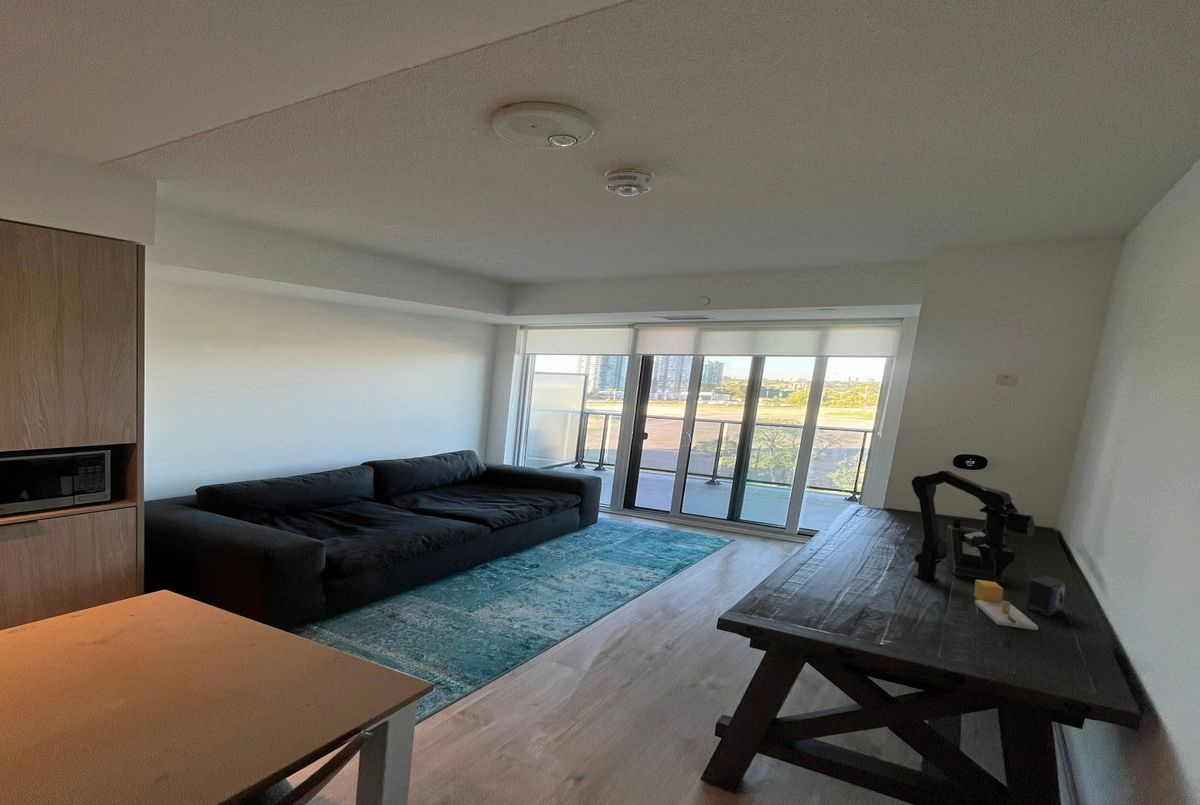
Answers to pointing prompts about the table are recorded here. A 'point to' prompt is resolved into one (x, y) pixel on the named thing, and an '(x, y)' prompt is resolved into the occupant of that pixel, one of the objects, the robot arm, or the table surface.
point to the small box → (1046, 595)
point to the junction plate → (1006, 614)
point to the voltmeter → (967, 555)
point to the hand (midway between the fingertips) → (990, 571)
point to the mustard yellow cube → (988, 591)
